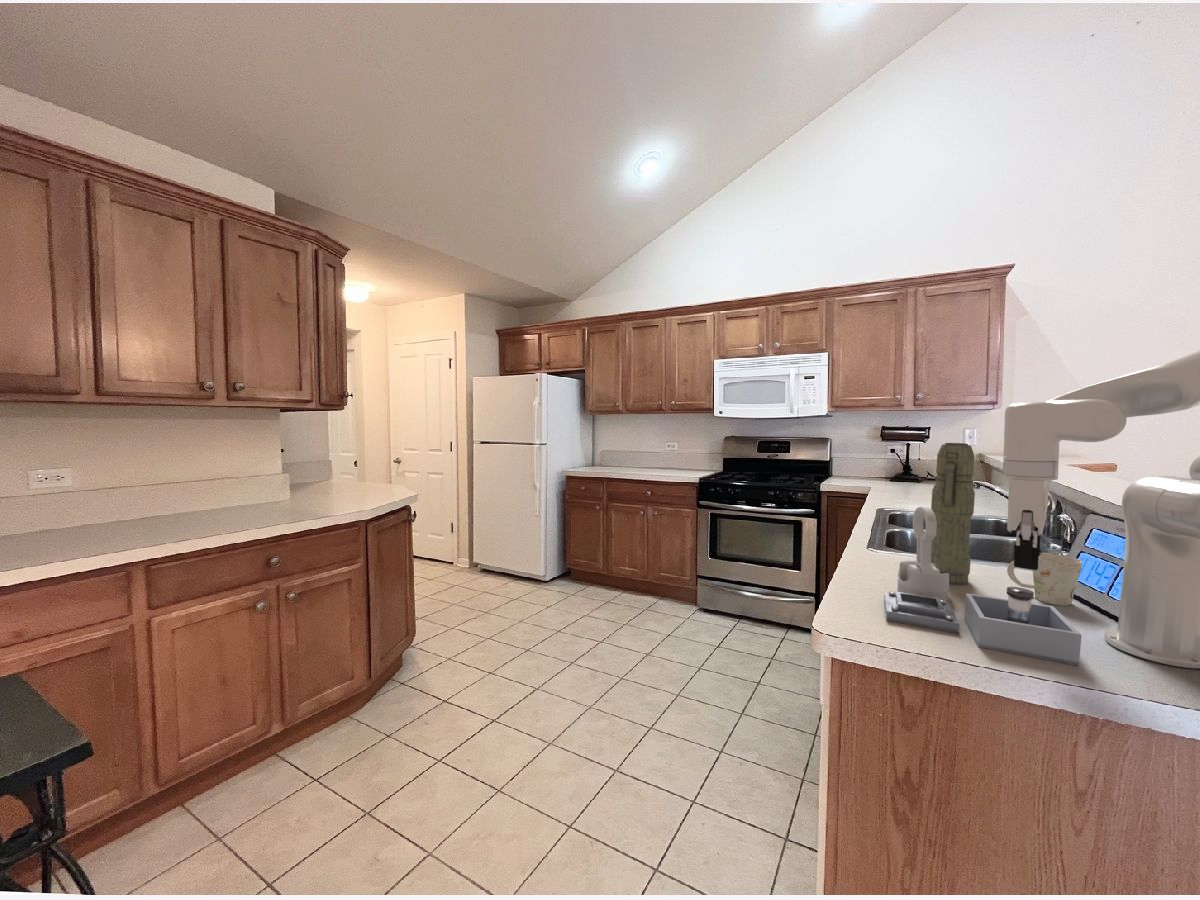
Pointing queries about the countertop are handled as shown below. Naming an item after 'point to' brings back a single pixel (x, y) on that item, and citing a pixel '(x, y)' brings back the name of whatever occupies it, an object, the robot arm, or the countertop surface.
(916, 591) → the engine component
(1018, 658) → the countertop surface
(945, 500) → the green moai statue
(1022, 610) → the dark topped cylinder
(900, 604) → the mount plate
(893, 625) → the countertop surface
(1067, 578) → the mug
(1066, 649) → the bin
